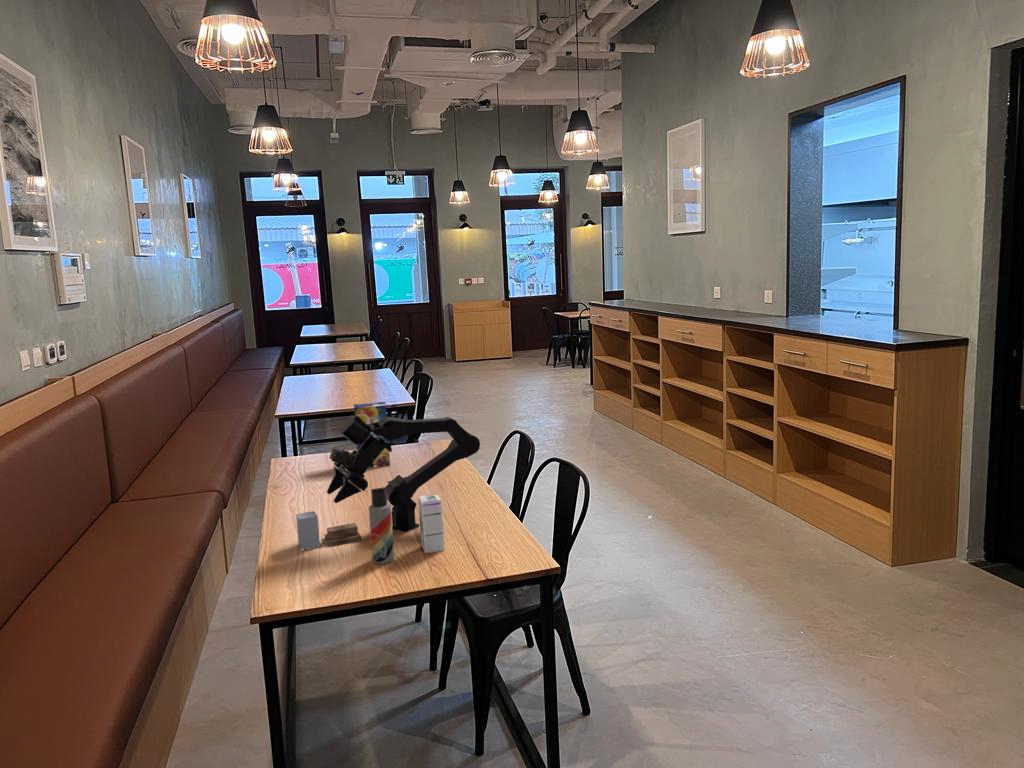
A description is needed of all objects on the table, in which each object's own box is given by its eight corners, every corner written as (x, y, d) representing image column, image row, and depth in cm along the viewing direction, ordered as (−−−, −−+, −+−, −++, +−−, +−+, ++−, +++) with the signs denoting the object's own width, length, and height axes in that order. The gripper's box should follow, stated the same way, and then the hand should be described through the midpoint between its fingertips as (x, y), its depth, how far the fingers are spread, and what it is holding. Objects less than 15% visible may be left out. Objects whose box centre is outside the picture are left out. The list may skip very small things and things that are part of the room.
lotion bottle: (375, 566, 194) (370, 492, 191) (370, 558, 199) (365, 486, 196) (396, 562, 196) (391, 489, 193) (391, 554, 202) (386, 483, 198)
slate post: (316, 541, 214) (314, 511, 212) (320, 546, 209) (317, 516, 208) (298, 544, 211) (296, 514, 210) (301, 550, 207) (299, 519, 205)
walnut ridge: (355, 532, 219) (354, 520, 219) (361, 540, 213) (360, 528, 212) (324, 538, 215) (323, 526, 215) (329, 546, 209) (328, 534, 209)
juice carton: (358, 468, 287) (354, 407, 283) (358, 463, 294) (353, 404, 290) (390, 465, 290) (386, 405, 286) (388, 460, 297) (384, 401, 293)
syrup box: (445, 550, 203) (442, 499, 201) (423, 553, 201) (420, 502, 199) (441, 543, 208) (438, 493, 206) (420, 546, 207) (417, 496, 204)
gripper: (338, 431, 219) (303, 473, 216) (353, 444, 202) (315, 490, 199) (366, 453, 223) (332, 495, 221) (383, 468, 207) (346, 513, 204)
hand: (331, 497), depth 211 cm, fingers open, 9 cm apart
